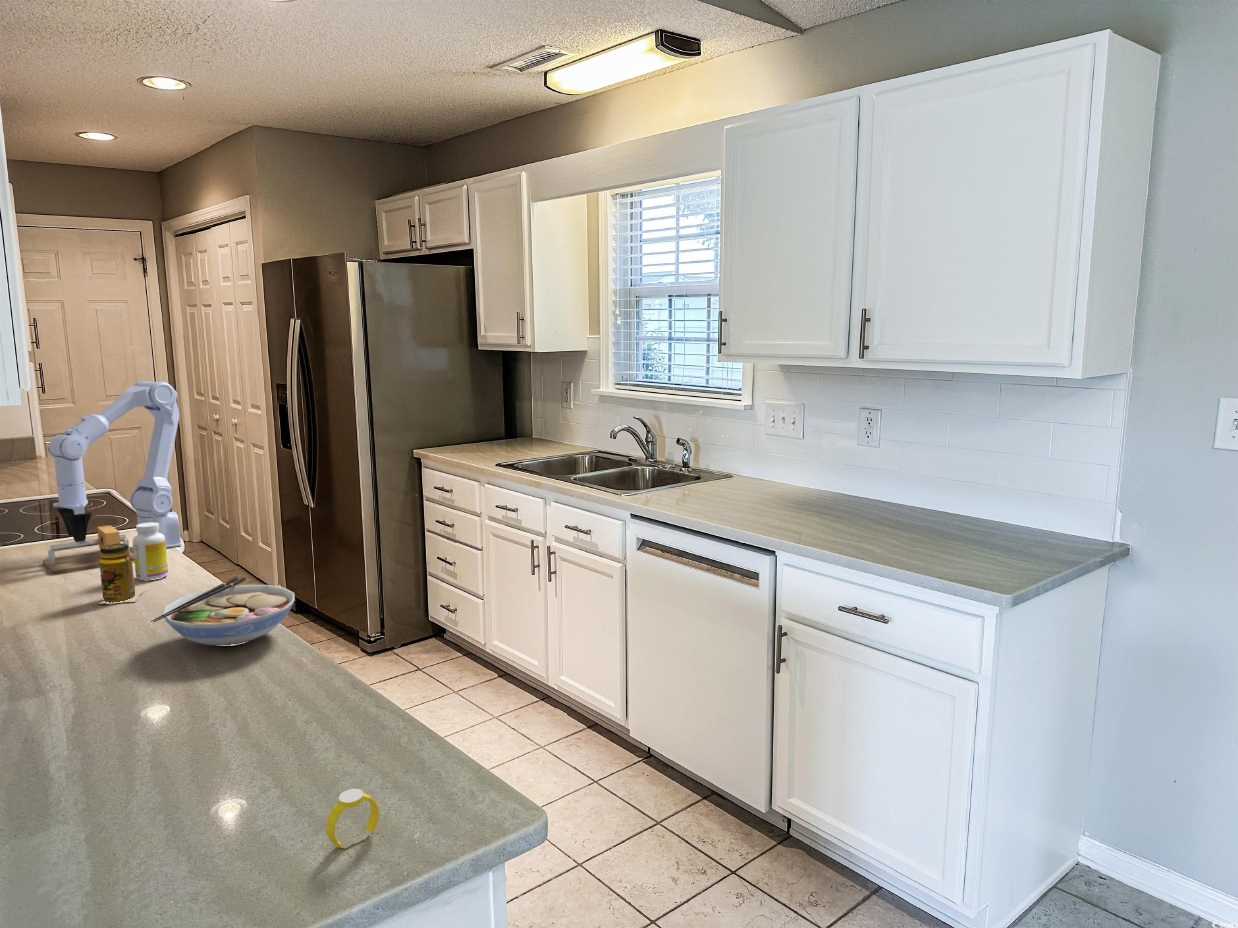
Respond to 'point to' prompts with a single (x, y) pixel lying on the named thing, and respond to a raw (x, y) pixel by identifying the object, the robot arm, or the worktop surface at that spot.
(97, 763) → the worktop surface
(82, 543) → the metal rod
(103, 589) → the condiment
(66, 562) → the walnut board
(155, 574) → the supplement bottle
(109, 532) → the collar
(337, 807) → the watch
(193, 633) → the ramen bowl
